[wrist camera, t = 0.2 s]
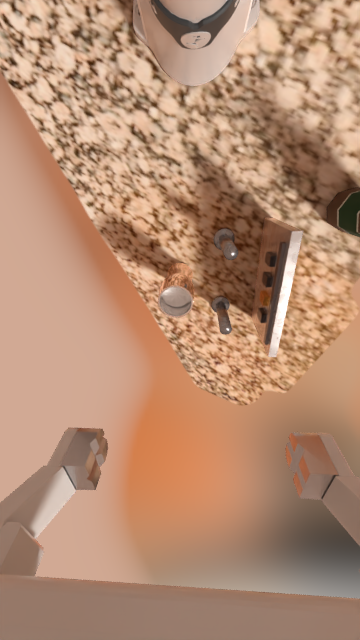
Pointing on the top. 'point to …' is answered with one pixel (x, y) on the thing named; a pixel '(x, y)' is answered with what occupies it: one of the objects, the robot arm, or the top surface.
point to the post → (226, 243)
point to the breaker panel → (274, 280)
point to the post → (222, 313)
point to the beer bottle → (345, 212)
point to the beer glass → (177, 291)
